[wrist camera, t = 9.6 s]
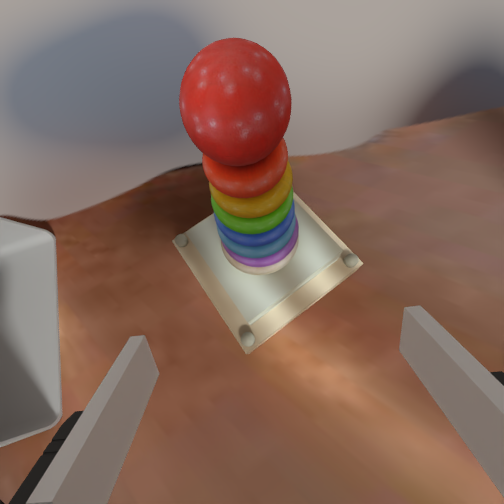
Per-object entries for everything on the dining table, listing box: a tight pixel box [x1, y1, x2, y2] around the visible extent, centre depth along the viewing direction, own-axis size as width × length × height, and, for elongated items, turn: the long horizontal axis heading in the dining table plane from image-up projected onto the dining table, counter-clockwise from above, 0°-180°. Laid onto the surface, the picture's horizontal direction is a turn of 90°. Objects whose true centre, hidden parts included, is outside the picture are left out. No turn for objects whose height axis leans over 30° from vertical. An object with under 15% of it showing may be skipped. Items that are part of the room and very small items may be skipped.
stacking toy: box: [179, 38, 299, 275], centre depth 18 cm, size 8×8×19 cm
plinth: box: [172, 192, 363, 354], centre depth 30 cm, size 16×16×6 cm
